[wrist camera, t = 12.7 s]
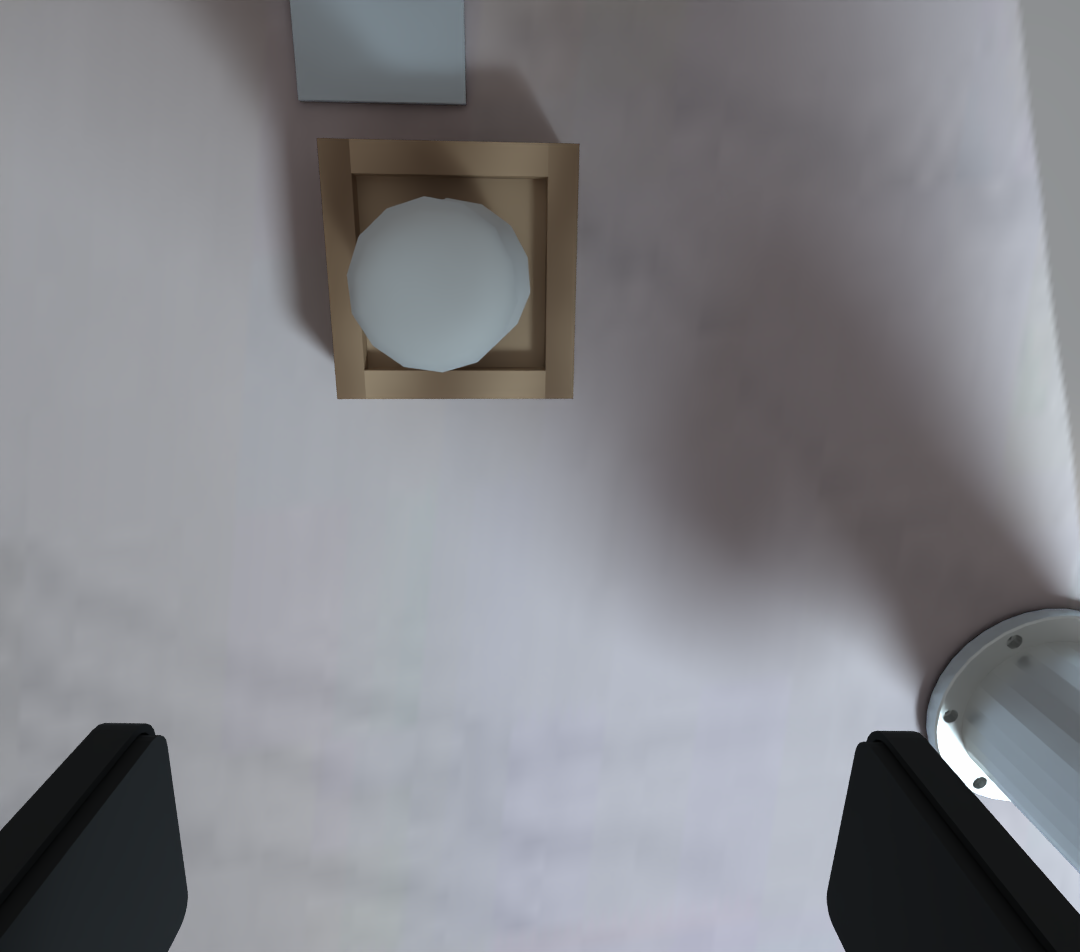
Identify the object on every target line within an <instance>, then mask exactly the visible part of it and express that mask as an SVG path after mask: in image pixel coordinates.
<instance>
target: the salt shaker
mask: <svg viewBox="0 0 1080 952" xmlns="http://www.w3.org/2000/svg"><path fill="white" fill-rule="evenodd" d="M347 280H348V288H349V296H350V303H351V311H352V314H353V316H354V318H355V319H356V321H357V322H358V324H359V325H360V327H361V328H362V330H363V331H364V333H365V334H366V336H367V338H368V339H369V341H370V342H371V344H372V345H373V346H374V347H375V348H377V349H378V350H380V351H381V352H383V353H384V354H386V355H387V356H389V357H390V358H392V359H393V360H395V361H396V362H398V363H399V364H401V365H402V366H403V367H408V368H415V369H422V370H429V371H436V372H446V371H449V370H453V369H456V368H459V367H463V366H466V365H470V364H473V363H477V362H478V361H479V360H480V359H481V358H482V357H484V356H485V355H486V354H487V353H488V352H489V351H490V350H491V349H492V348H493V347H494V346H495V345H496V344H497V343H498V342H499V341H500V340H501V339H502V338H503V337H504V336H506V335H507V334H508V333H509V332H510V331H511V330H512V329H513V328H514V327H515V326H516V325H517V324H518V321H519V319H520V317H521V314H522V312H523V309H524V307H525V304H526V302H527V299H528V297H529V295H530V282H529V269H528V257H527V255H526V253H525V251H524V249H523V247H522V246H521V244H520V242H519V240H518V238H517V236H516V234H515V232H514V230H513V228H512V227H511V225H509V224H508V223H507V222H505V221H504V220H503V219H501V218H500V217H498V216H497V215H496V214H494V213H493V212H492V211H490V210H489V209H488V208H486V207H485V206H484V205H482V204H477V203H472V202H466V201H461V200H455V199H450V198H446V199H443V200H441V199H436V198H431V197H426V196H423V197H420V198H417V199H414V200H411V201H408V202H405V203H402V204H399V205H396V206H393V207H390V208H387V209H386V210H385V211H384V212H383V213H382V214H381V215H380V216H379V217H378V218H377V219H376V220H375V221H374V222H373V223H372V224H371V225H370V226H369V227H368V228H367V229H366V230H364V231H363V232H362V233H361V234H360V235H359V237H358V240H357V243H356V246H355V250H354V253H353V256H352V259H351V263H350V266H349V269H348V273H347Z"/></svg>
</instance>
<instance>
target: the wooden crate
mask: <svg viewBox="0 0 1080 952" xmlns="http://www.w3.org/2000/svg"><path fill="white" fill-rule="evenodd" d="M317 148H318V160H319V173H320V186H321V198H322V211H323V224H324V236H325V249H326V262H327V274H328V287H329V299H330V312H331V325H332V337H333V350H334V363H335V375H336V388H337V399H573V378H574V338H575V299H576V259H577V219H578V180H579V144H570V143H523V142H476V141H429V140H381V139H334V138H317ZM423 196H426V197H431V198H436V199H441V200H443V199H446V198H450V199H455V200H461V201H466V202H472V203H477V204H482V205H484V206H485V207H486V208H488V209H489V210H490V211H492V212H493V213H494V214H496V215H497V216H498V217H500V218H501V219H503V220H504V221H505V222H507V223H508V224H509V225H511V227H512V228H513V230H514V232H515V234H516V236H517V238H518V240H519V242H520V244H521V246H522V247H523V249H524V251H525V253H526V255H527V257H528V269H529V282H530V295H529V297H528V299H527V302H526V304H525V307H524V309H523V312H522V314H521V317H520V319H519V321H518V324H517V325H516V326H515V327H514V328H513V329H512V330H511V331H510V332H509V333H508V334H507V335H506V336H504V337H503V338H502V339H501V340H500V341H499V342H498V343H497V344H496V345H495V346H494V347H493V348H492V349H491V350H490V351H489V352H488V353H487V354H486V355H485V356H484V357H482V358H481V359H480V360H479V361H478V362H477V363H473V364H470V365H466V366H463V367H459V368H456V369H453V370H449V371H446V372H436V371H429V370H422V369H415V368H408V367H403V366H402V365H401V364H399V363H398V362H396V361H395V360H393V359H392V358H390V357H389V356H387V355H386V354H384V353H383V352H381V351H380V350H378V349H377V348H375V347H374V346H373V345H372V344H371V342H370V341H369V339H368V338H367V336H366V334H365V333H364V331H363V330H362V328H361V327H360V325H359V324H358V322H357V321H356V319H355V318H354V316H353V314H352V311H351V303H350V296H349V288H348V280H347V273H348V269H349V266H350V263H351V259H352V256H353V253H354V250H355V246H356V243H357V240H358V237H359V235H360V234H361V233H362V232H363V231H364V230H366V229H367V228H368V227H369V226H370V225H371V224H372V223H373V222H374V221H375V220H376V219H377V218H378V217H379V216H380V215H381V214H382V213H383V212H384V211H385V210H386V209H387V208H390V207H393V206H396V205H399V204H402V203H405V202H408V201H411V200H414V199H417V198H420V197H423Z"/></svg>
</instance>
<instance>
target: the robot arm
mask: <svg viewBox="0 0 1080 952" xmlns="http://www.w3.org/2000/svg"><path fill="white" fill-rule="evenodd" d="M926 730H927V735H928V741H929V742H928V741H927V740H926V738H924V737H923V736H922V735H921V734H920V733H917V732H914V731H874V732H872V733H871V734H870V735H869V736H868V739H867V742H861V743H859V744H858V746H857V748H856V751H855V756H854V760H853V765H852V770H851V775H850V780H849V785H848V790H847V795H846V800H845V805H844V810H843V815H842V820H841V825H840V830H839V835H838V840H837V845H836V850H835V855H834V860H833V865H832V870H831V875H830V880H829V885H828V890H827V906H828V912H829V916H830V919H831V922H832V924H833V927H834V929H835V931H836V933H837V935H838V937H839V939H840V941H841V943H842V945H843V947H844V949H845V952H1080V914H1079V913H1078V912H1077V911H1076V910H1075V908H1074V907H1073V906H1072V905H1071V904H1070V903H1069V902H1068V900H1067V899H1066V898H1065V897H1064V896H1063V895H1062V894H1061V893H1060V891H1059V890H1058V889H1057V888H1056V887H1055V886H1054V885H1053V883H1052V882H1051V881H1050V880H1049V879H1048V878H1047V877H1046V875H1045V874H1044V873H1043V872H1042V871H1041V870H1040V869H1039V867H1038V866H1037V865H1036V864H1035V863H1034V862H1033V861H1032V859H1031V858H1030V857H1029V856H1028V855H1027V854H1026V853H1025V851H1024V850H1023V849H1022V848H1021V847H1020V846H1019V845H1018V843H1017V842H1016V841H1015V840H1014V839H1013V838H1012V837H1011V835H1010V834H1009V833H1008V832H1007V831H1006V830H1005V829H1004V827H1003V826H1002V825H1001V824H1000V823H999V822H998V821H997V819H996V818H995V817H994V816H993V815H992V814H991V813H990V811H989V810H988V809H987V808H986V807H985V806H984V805H983V804H982V802H981V801H980V800H979V799H978V798H977V797H976V796H975V794H978V795H981V796H984V797H987V798H990V799H997V800H1005V801H1011V802H1012V803H1013V804H1014V805H1015V806H1016V807H1017V808H1018V809H1019V810H1020V811H1021V812H1022V813H1023V814H1024V815H1025V816H1026V818H1027V819H1028V820H1029V821H1030V822H1031V823H1032V824H1033V825H1034V826H1035V827H1036V828H1037V829H1038V830H1039V831H1040V832H1041V833H1042V834H1043V835H1044V837H1045V838H1046V839H1047V840H1048V841H1049V842H1050V843H1051V844H1052V845H1053V846H1054V847H1055V848H1056V849H1057V850H1058V851H1059V852H1060V853H1061V854H1062V855H1063V857H1064V858H1065V859H1066V860H1067V861H1068V862H1069V863H1070V864H1071V865H1072V866H1073V867H1074V868H1075V869H1076V870H1077V871H1078V872H1079V873H1080V611H1077V610H1072V609H1043V610H1038V611H1033V612H1028V613H1024V614H1021V615H1018V616H1015V617H1012V618H1010V619H1007V620H1004V621H1002V622H1000V623H999V624H997V625H995V626H993V627H991V628H989V629H988V630H986V631H984V632H983V633H981V634H980V635H979V636H977V637H976V638H975V639H973V640H972V641H971V642H969V643H968V644H967V645H966V646H965V647H964V648H963V649H962V650H961V651H960V652H959V653H958V654H957V655H956V656H955V657H954V658H953V659H952V660H951V662H950V663H949V665H948V666H947V667H946V669H945V670H944V672H943V673H942V674H941V676H940V678H939V680H938V682H937V684H936V686H935V688H934V690H933V692H932V695H931V698H930V702H929V706H928V710H927V722H926ZM974 793H975V794H974ZM187 900H188V891H187V884H186V876H185V869H184V862H183V855H182V847H181V840H180V833H179V826H178V819H177V811H176V804H175V797H174V790H173V782H172V775H171V768H170V761H169V753H168V746H167V742H166V739H165V738H164V736H161V735H155V732H154V729H153V728H152V726H151V725H149V724H140V723H104V724H100V725H98V726H97V727H96V728H95V729H93V730H92V731H91V732H90V734H89V735H88V736H87V737H86V738H85V739H84V740H83V741H82V742H81V743H80V744H79V746H78V747H77V748H76V749H75V750H74V751H73V752H72V753H71V754H70V755H69V756H68V758H67V759H66V760H65V761H64V762H63V763H62V764H61V765H60V766H59V767H58V768H57V770H56V771H55V772H54V773H53V774H52V775H51V776H50V777H49V778H48V779H47V780H46V782H45V783H44V784H43V785H42V786H41V787H40V788H39V789H38V790H37V791H36V793H35V794H34V795H33V796H32V797H31V798H30V799H29V800H28V801H27V802H26V803H25V805H24V806H23V807H22V808H21V809H20V810H19V811H18V812H17V813H16V814H15V815H14V817H13V818H12V819H11V820H10V821H9V822H8V823H7V824H6V825H5V826H4V827H3V829H2V830H1V831H0V952H168V950H169V948H170V946H171V945H172V943H173V941H174V939H175V937H176V935H177V933H178V931H179V929H180V927H181V924H182V922H183V919H184V916H185V912H186V908H187Z"/></svg>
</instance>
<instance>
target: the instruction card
mask: <svg viewBox="0 0 1080 952" xmlns="http://www.w3.org/2000/svg"><path fill="white" fill-rule="evenodd" d="M290 9H291V21H292V32H293V44H294V56H295V68H296V79H297V91H298V100H299V101H312V102H353V103H394V104H435V105H466V79H465V28H464V0H290Z"/></svg>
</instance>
